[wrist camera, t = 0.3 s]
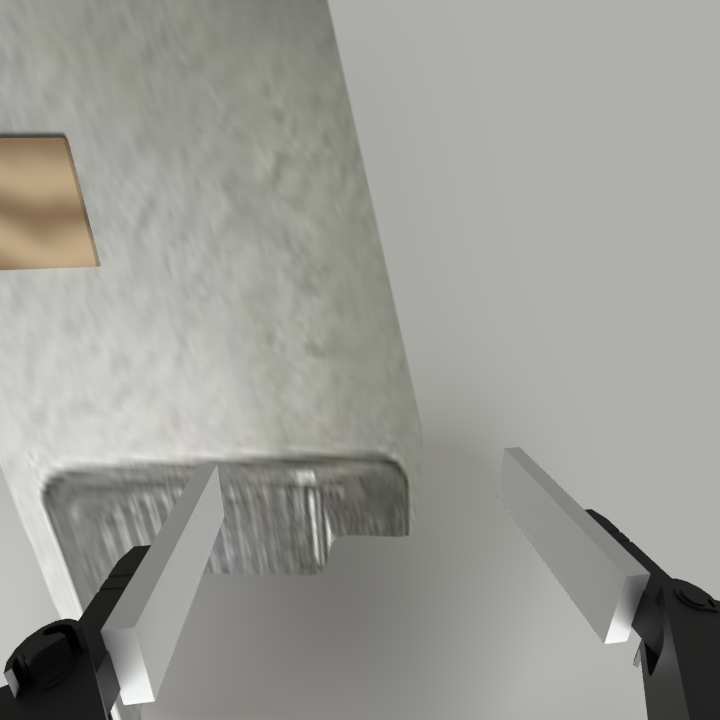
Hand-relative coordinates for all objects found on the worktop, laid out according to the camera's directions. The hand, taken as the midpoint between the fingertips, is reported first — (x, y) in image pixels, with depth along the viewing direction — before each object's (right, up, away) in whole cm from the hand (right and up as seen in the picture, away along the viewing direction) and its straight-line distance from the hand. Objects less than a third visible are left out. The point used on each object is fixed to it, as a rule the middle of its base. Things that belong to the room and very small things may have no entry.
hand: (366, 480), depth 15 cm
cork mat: (-35, +21, +19) cm, 45 cm away
